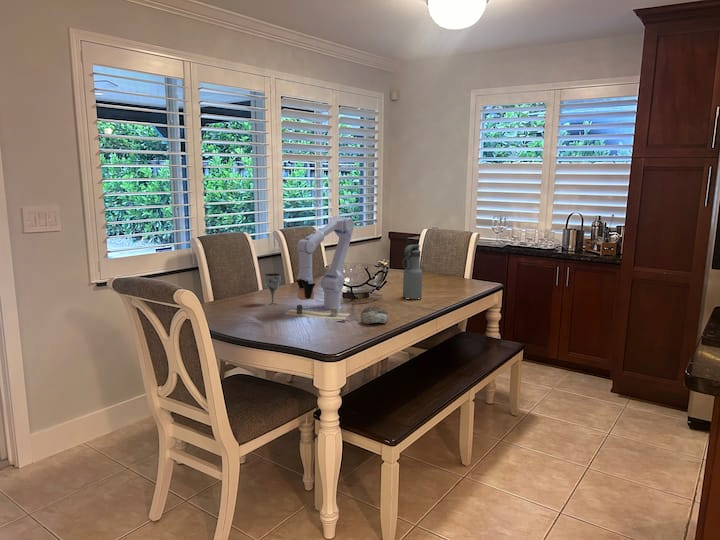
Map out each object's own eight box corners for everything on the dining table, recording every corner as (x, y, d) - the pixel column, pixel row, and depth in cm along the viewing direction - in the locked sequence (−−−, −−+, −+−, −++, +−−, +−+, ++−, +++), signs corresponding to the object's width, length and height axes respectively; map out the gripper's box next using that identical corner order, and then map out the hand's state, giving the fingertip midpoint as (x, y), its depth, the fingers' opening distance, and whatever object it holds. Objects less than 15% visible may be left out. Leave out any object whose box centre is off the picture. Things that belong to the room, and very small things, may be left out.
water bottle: (411, 301, 275) (413, 246, 271) (398, 298, 283) (399, 244, 278) (425, 298, 282) (427, 245, 277) (411, 295, 289) (413, 243, 285)
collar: (297, 297, 241) (297, 288, 240) (309, 296, 243) (309, 287, 243) (301, 300, 236) (301, 291, 235) (313, 299, 238) (313, 290, 238)
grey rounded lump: (376, 321, 223) (369, 299, 227) (359, 330, 228) (352, 308, 232) (396, 321, 235) (388, 300, 238) (380, 329, 240) (373, 308, 243)
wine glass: (261, 304, 262) (260, 274, 259) (274, 302, 267) (273, 272, 265) (271, 307, 256) (271, 276, 254) (284, 305, 262) (284, 274, 260)
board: (290, 311, 249) (290, 301, 248) (350, 316, 243) (350, 305, 242) (282, 318, 237) (282, 307, 236) (344, 322, 232) (344, 311, 231)
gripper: (291, 264, 242) (292, 294, 245) (302, 269, 229) (302, 301, 232) (306, 263, 245) (306, 293, 247) (317, 268, 232) (317, 299, 234)
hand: (305, 296), depth 240 cm, fingers closed on collar, 6 cm apart
